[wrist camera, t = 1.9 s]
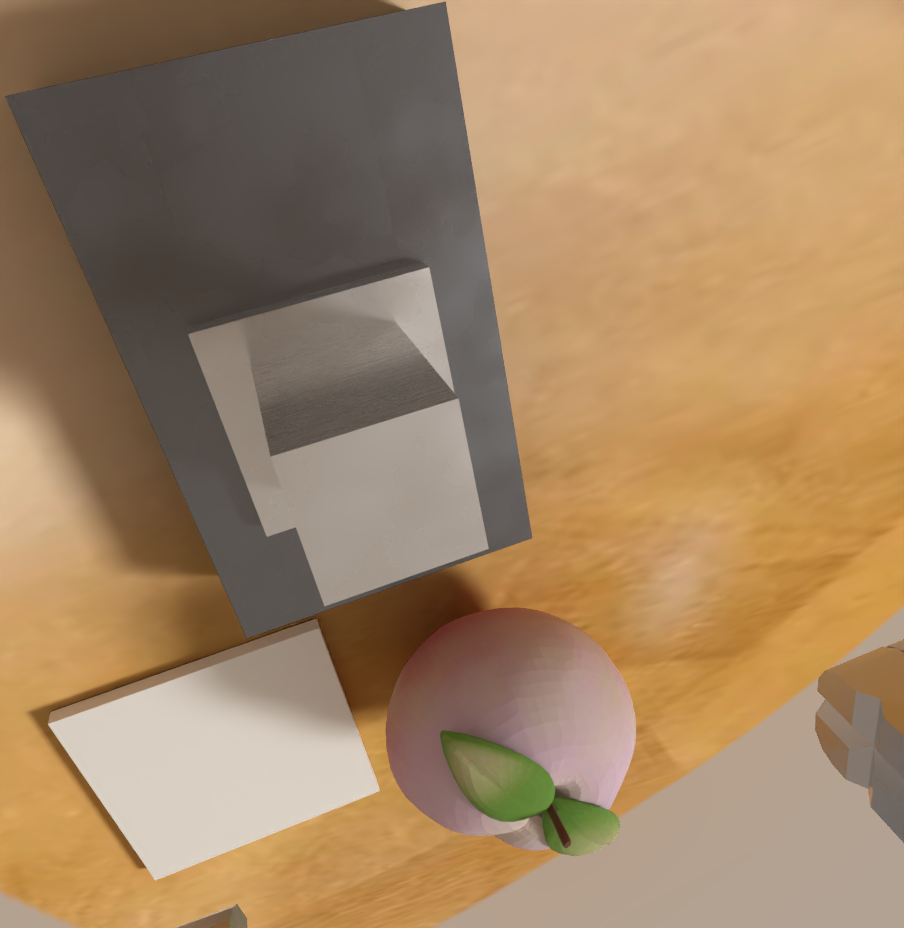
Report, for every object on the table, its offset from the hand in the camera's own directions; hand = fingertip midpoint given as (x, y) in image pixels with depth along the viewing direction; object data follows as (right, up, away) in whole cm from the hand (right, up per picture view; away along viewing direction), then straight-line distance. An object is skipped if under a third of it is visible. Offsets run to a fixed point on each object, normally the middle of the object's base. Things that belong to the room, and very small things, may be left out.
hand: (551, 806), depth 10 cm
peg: (-6, +8, +14) cm, 17 cm away
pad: (-10, -7, +21) cm, 24 cm away
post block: (-6, +9, +14) cm, 17 cm away
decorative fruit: (-1, -3, +22) cm, 22 cm away
